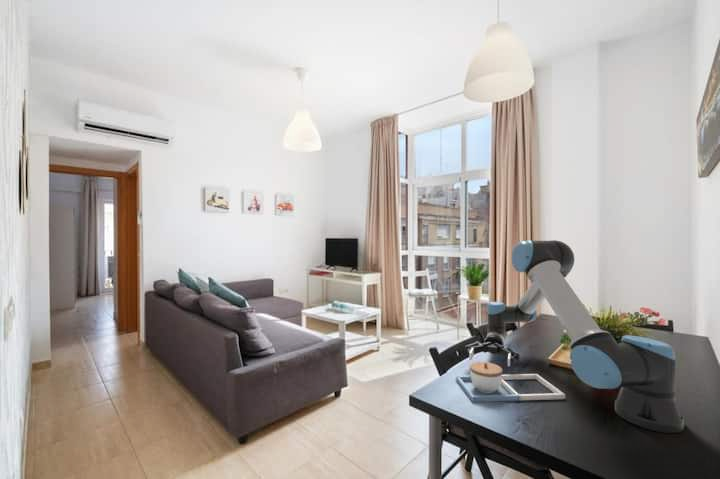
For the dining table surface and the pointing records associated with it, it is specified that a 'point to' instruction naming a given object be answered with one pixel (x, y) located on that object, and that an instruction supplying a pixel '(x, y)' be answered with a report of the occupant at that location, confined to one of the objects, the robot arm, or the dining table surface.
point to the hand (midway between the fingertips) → (488, 359)
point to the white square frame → (555, 395)
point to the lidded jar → (486, 376)
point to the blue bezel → (483, 397)
